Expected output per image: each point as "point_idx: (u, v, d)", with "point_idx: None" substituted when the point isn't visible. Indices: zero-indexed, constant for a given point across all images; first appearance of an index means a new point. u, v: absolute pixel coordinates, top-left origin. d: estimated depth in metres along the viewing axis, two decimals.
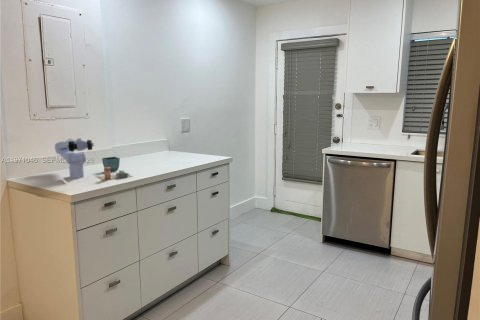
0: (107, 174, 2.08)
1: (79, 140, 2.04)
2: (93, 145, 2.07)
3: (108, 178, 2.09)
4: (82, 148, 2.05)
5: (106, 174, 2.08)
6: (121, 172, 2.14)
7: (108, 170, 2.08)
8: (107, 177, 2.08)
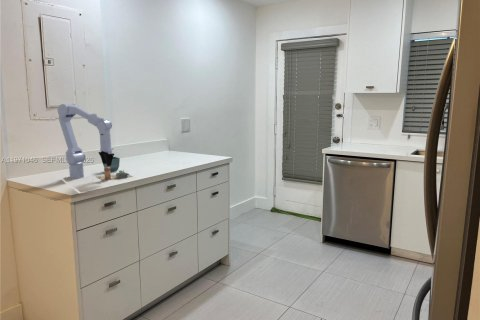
0: (107, 174, 2.08)
1: (111, 149, 2.09)
2: (101, 150, 2.13)
3: (108, 178, 2.09)
4: None
5: (106, 174, 2.08)
6: (121, 172, 2.14)
7: (108, 170, 2.08)
8: (107, 177, 2.08)
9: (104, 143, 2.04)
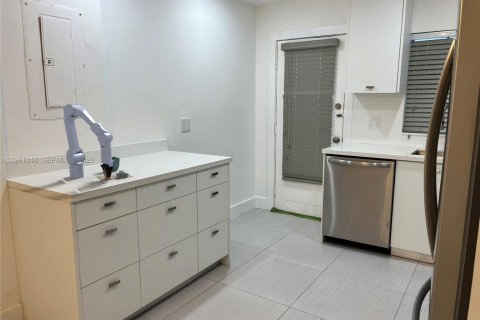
0: None
1: None
2: None
3: (108, 178, 2.09)
4: None
5: None
6: (121, 172, 2.14)
7: None
8: None
9: (105, 155, 2.05)
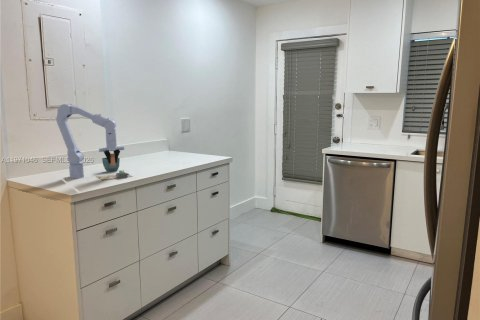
0: None
1: None
2: None
3: None
4: None
5: (114, 160, 2.17)
6: (121, 172, 2.14)
7: None
8: None
9: None
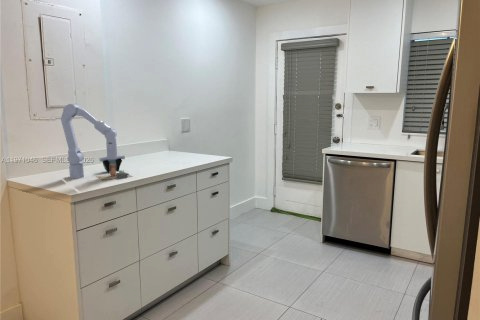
0: (115, 170, 2.18)
1: None
2: (100, 161, 2.12)
3: None
4: None
5: (115, 170, 2.18)
6: (121, 172, 2.14)
7: None
8: (115, 173, 2.19)
9: (116, 151, 2.16)
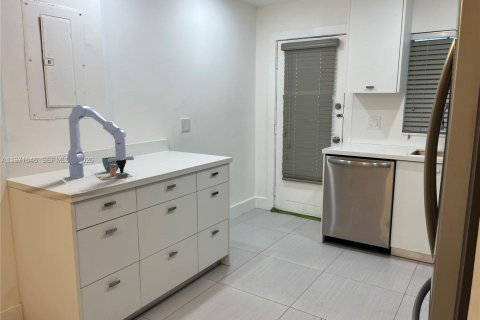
0: (115, 170, 2.18)
1: None
2: (108, 161, 2.10)
3: None
4: None
5: (115, 170, 2.18)
6: None
7: None
8: (115, 173, 2.19)
9: (125, 151, 2.13)
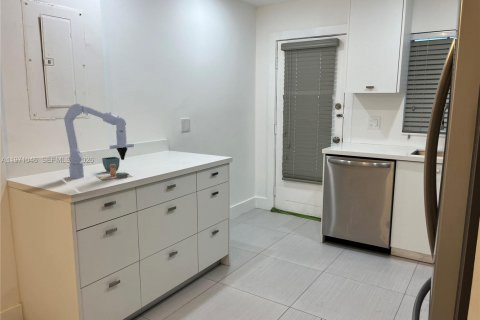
0: (115, 170, 2.18)
1: None
2: None
3: None
4: None
5: (115, 170, 2.18)
6: None
7: None
8: (115, 173, 2.19)
9: None
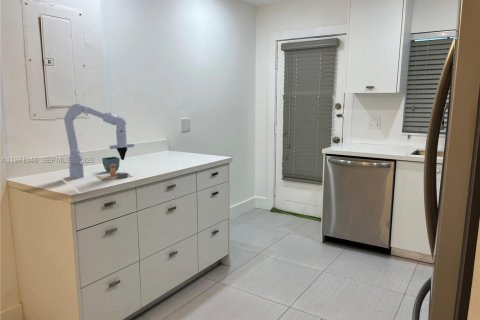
0: (115, 170, 2.18)
1: None
2: None
3: None
4: None
5: (115, 170, 2.18)
6: None
7: None
8: (115, 173, 2.19)
9: None
